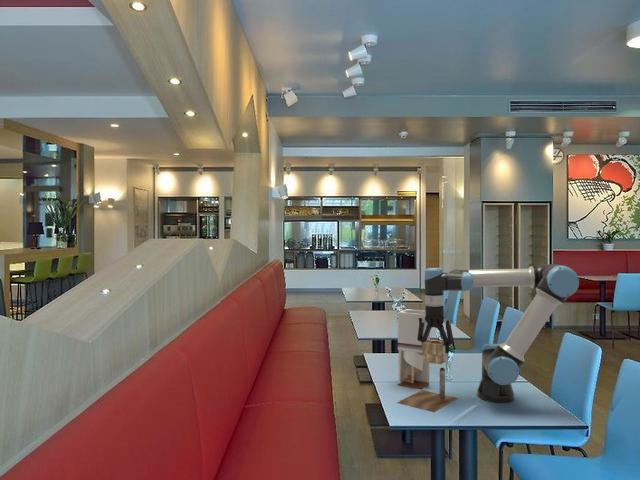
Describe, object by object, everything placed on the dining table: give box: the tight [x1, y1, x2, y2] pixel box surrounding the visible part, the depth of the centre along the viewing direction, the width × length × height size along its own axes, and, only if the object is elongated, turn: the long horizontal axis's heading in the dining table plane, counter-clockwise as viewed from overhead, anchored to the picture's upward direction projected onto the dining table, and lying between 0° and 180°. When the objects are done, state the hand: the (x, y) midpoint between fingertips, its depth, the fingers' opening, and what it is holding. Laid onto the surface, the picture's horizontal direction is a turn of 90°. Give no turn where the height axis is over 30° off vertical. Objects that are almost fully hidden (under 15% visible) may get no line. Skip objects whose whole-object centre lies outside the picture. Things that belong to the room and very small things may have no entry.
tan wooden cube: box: [422, 338, 450, 365], centre depth 216 cm, size 8×8×8 cm
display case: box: [397, 308, 431, 390], centre depth 238 cm, size 11×11×35 cm
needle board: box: [396, 367, 459, 413], centre depth 216 cm, size 17×22×15 cm
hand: (435, 359), depth 216 cm, fingers closed on tan wooden cube, 8 cm apart
